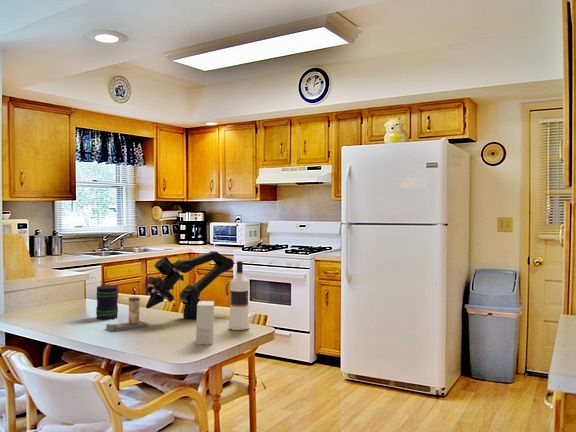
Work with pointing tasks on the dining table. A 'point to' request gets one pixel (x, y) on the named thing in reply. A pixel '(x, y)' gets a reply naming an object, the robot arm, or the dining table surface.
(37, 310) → the dining table surface
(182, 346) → the dining table surface
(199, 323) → the skincare box
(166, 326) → the dining table surface
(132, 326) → the fader track
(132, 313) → the lever
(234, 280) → the vodka
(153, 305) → the robot arm
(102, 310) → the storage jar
